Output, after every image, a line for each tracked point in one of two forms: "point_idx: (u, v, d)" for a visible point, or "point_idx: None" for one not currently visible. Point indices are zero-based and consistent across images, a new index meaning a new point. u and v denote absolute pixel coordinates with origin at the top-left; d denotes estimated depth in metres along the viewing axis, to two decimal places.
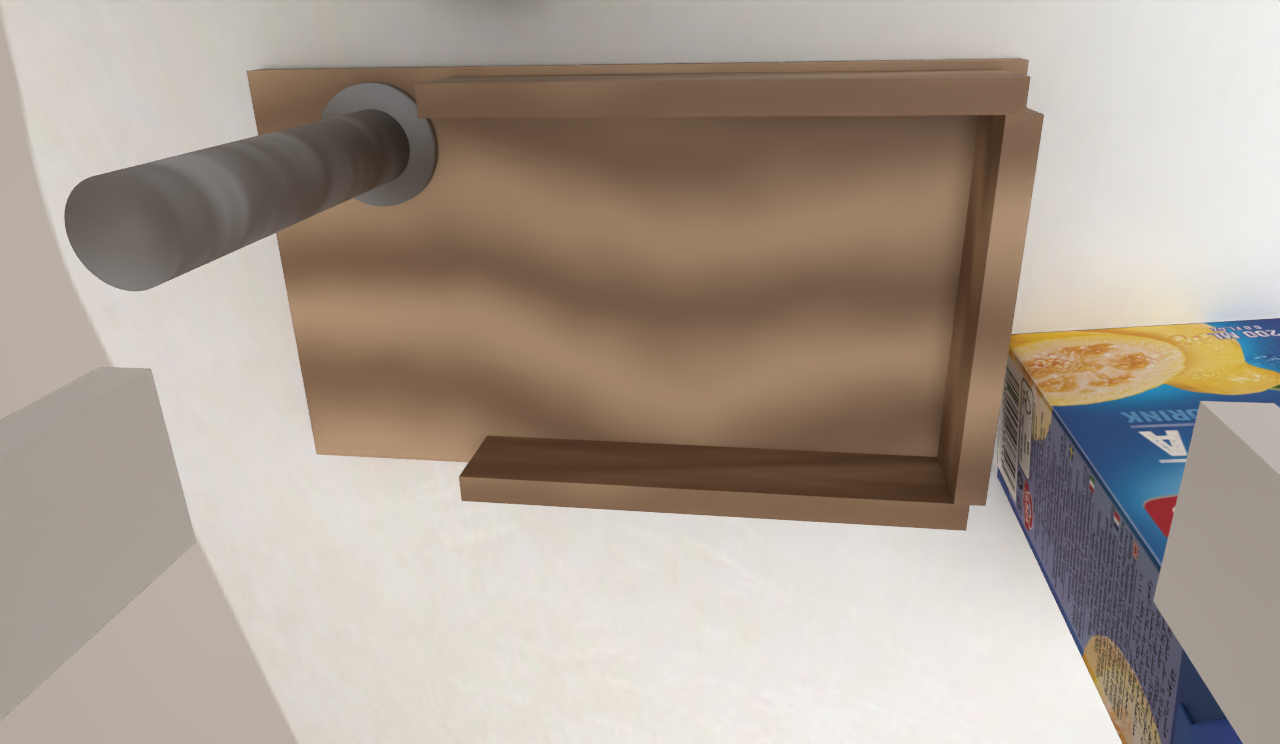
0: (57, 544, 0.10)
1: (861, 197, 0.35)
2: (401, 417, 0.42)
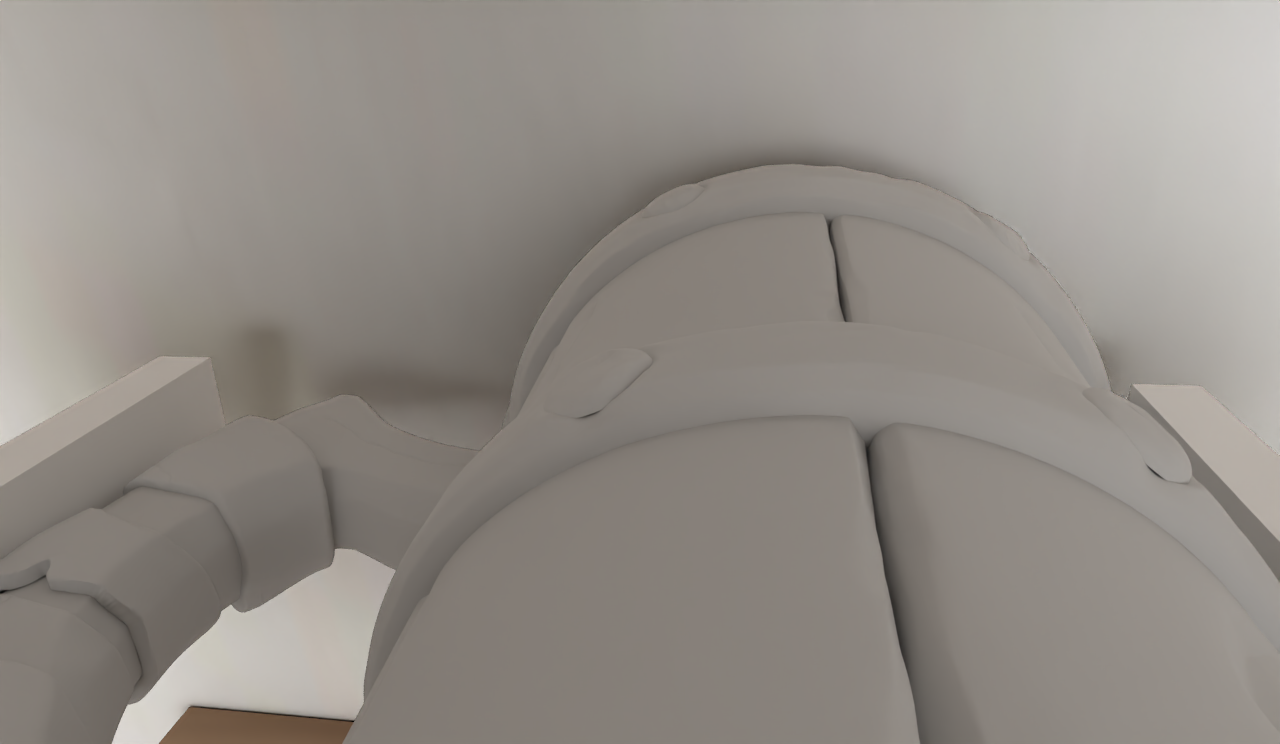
0: None
1: None
2: None
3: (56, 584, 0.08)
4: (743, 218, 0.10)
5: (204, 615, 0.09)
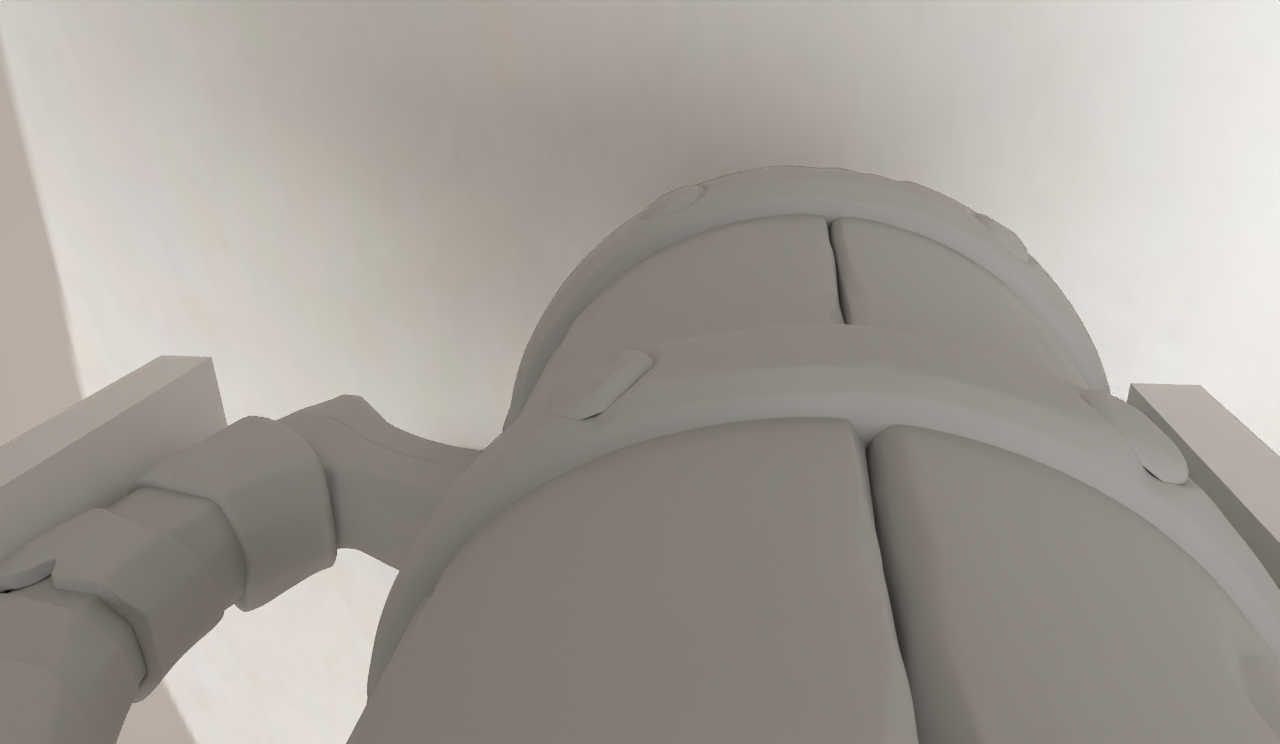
0: None
1: None
2: None
3: (61, 582, 0.08)
4: (743, 220, 0.10)
5: (208, 614, 0.09)
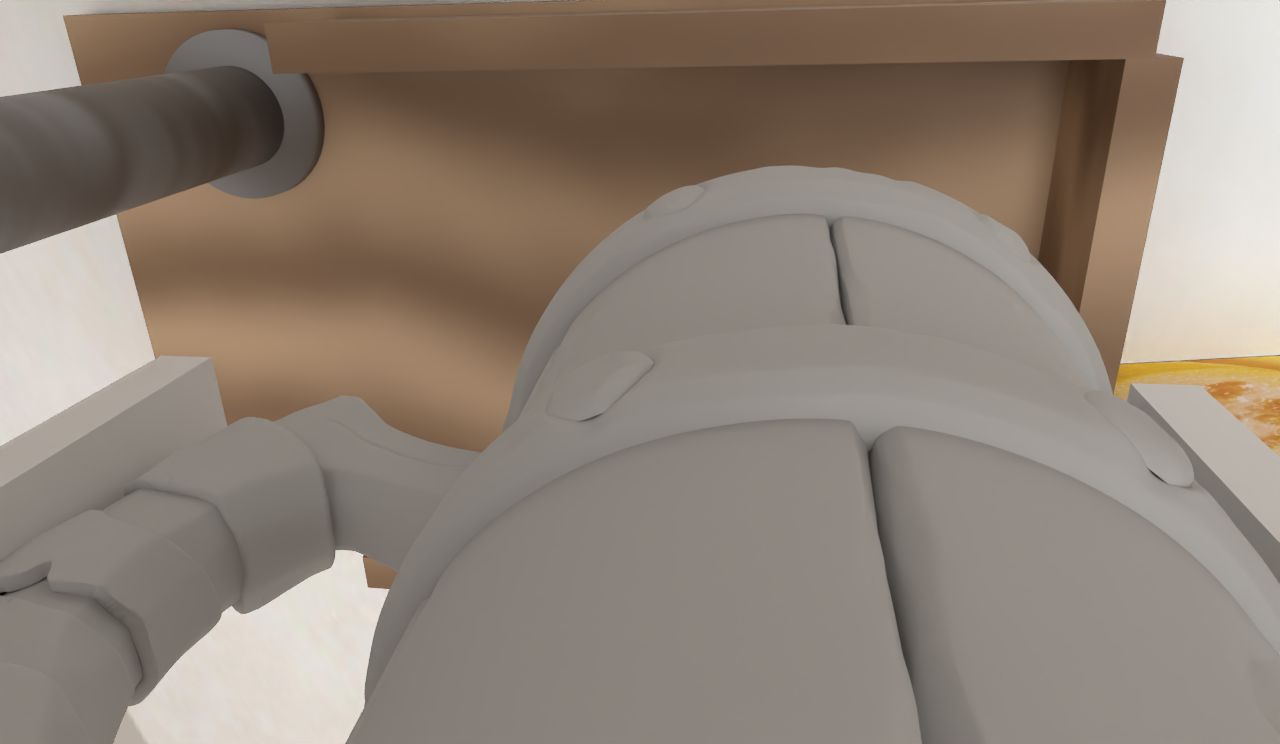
0: None
1: None
2: None
3: (57, 585, 0.08)
4: (744, 220, 0.10)
5: (205, 617, 0.09)
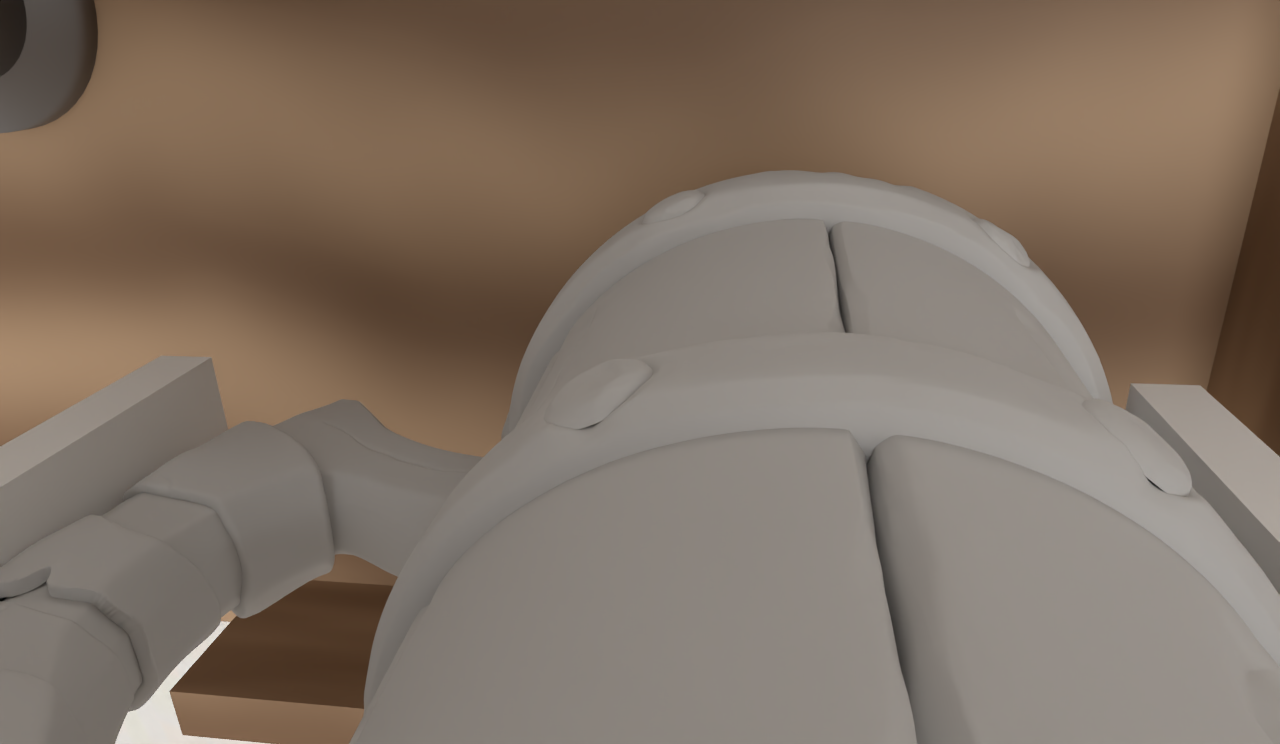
0: None
1: (1021, 91, 0.15)
2: None
3: (57, 590, 0.08)
4: (743, 225, 0.10)
5: (204, 622, 0.09)
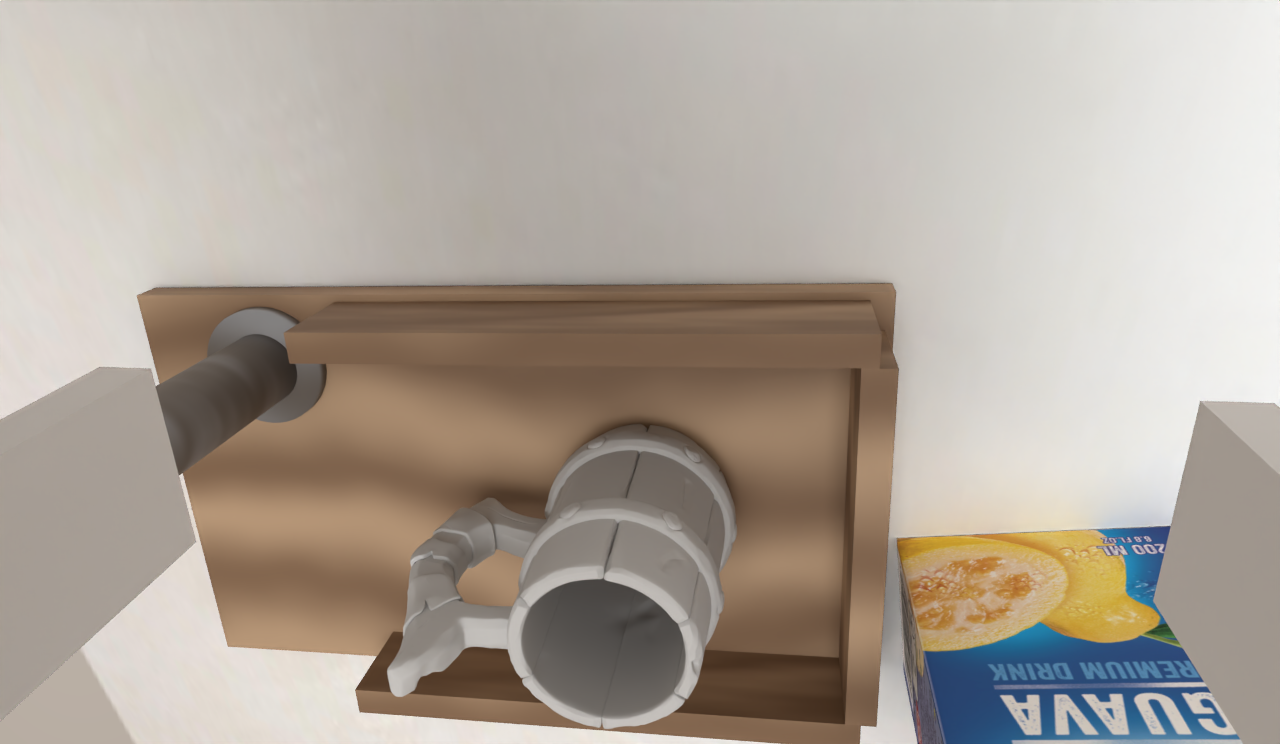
0: (57, 544, 0.10)
1: (742, 416, 0.35)
2: (308, 614, 0.42)
3: (434, 557, 0.32)
4: (615, 451, 0.33)
5: (465, 567, 0.33)
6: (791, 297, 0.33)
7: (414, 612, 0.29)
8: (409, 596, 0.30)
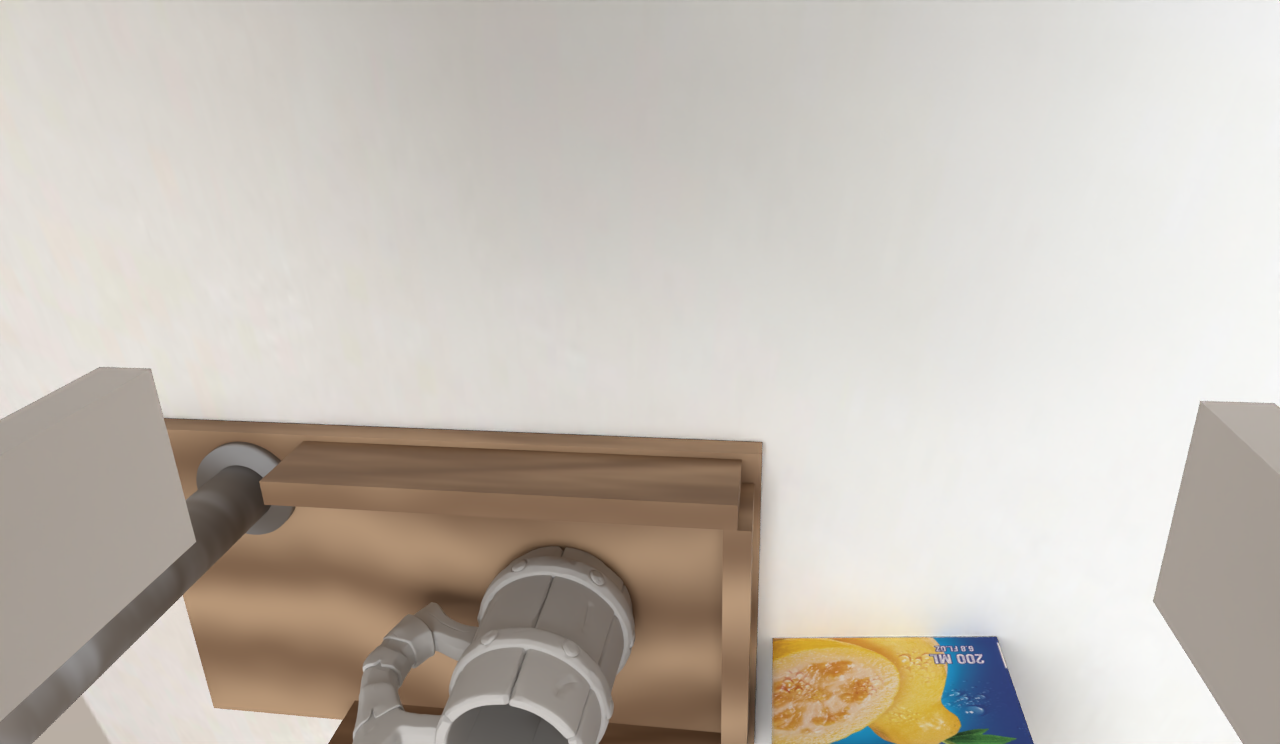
0: (57, 544, 0.10)
1: (641, 543, 0.42)
2: (282, 684, 0.49)
3: (382, 665, 0.39)
4: (533, 575, 0.41)
5: (408, 670, 0.40)
6: (678, 454, 0.40)
7: (362, 720, 0.36)
8: (359, 702, 0.38)
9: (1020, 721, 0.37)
